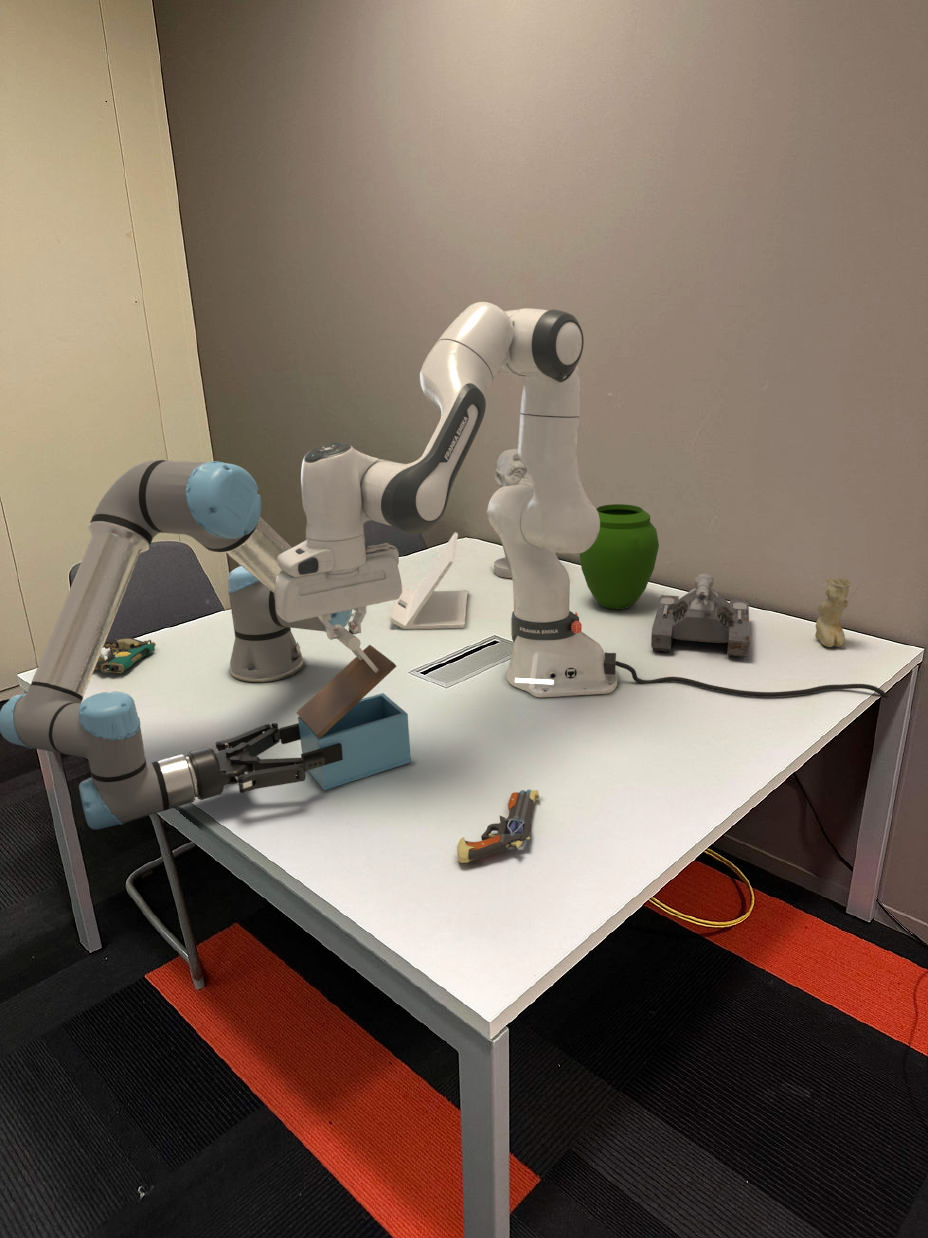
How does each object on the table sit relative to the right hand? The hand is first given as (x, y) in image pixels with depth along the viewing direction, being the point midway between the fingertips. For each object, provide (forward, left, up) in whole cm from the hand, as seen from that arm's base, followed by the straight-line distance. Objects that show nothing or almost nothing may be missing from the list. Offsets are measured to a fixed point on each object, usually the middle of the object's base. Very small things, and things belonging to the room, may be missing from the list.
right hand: (344, 635), depth 136 cm
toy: (-65, -61, -24) cm, 92 cm away
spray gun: (+63, -40, -24) cm, 78 cm away
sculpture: (-92, -59, -24) cm, 112 cm away
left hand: (+3, +3, -17) cm, 18 cm away
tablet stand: (-1, -75, -24) cm, 79 cm away
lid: (0, 0, -10) cm, 10 cm away
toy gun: (-26, +17, -24) cm, 39 cm away
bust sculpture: (-23, -105, -24) cm, 110 cm away
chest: (0, 0, -24) cm, 24 cm away
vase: (-47, -82, -24) cm, 97 cm away
